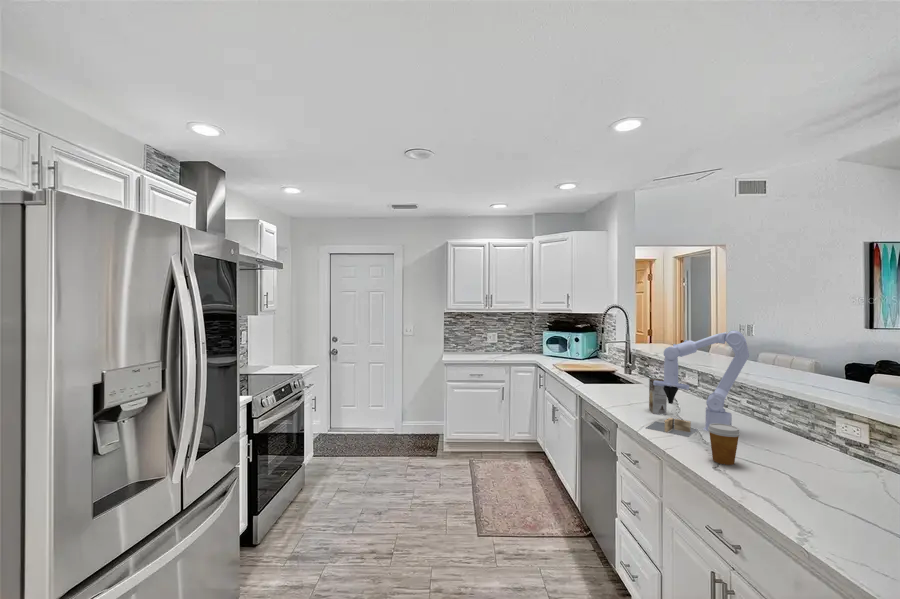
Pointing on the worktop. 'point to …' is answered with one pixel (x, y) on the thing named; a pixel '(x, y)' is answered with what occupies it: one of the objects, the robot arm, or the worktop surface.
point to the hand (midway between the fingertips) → (670, 403)
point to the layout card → (661, 427)
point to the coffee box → (657, 398)
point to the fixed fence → (682, 425)
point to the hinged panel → (669, 424)
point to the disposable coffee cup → (723, 442)
